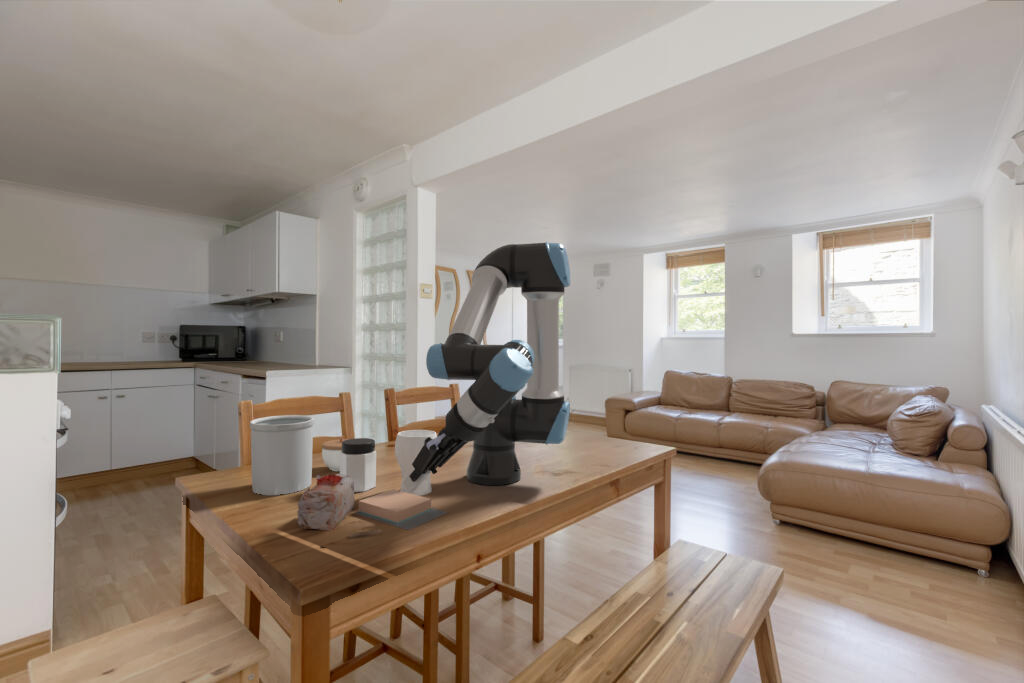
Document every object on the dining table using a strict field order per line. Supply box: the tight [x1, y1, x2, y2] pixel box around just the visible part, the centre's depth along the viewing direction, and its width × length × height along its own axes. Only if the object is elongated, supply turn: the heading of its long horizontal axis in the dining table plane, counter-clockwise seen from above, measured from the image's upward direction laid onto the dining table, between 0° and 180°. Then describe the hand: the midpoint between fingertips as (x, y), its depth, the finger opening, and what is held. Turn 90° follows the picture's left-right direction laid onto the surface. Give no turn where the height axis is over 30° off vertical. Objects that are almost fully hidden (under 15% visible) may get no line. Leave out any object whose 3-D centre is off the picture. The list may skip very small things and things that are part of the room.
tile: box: [357, 488, 432, 524], centre depth 103 cm, size 2×10×12 cm
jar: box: [339, 437, 377, 493], centre depth 121 cm, size 9×8×12 cm
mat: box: [354, 507, 449, 531], centre depth 102 cm, size 16×12×1 cm
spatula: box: [319, 528, 383, 550], centre depth 89 cm, size 11×4×1 cm, turn 113°
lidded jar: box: [321, 436, 349, 472], centre depth 139 cm, size 11×11×9 cm
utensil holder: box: [249, 414, 315, 496], centre depth 121 cm, size 15×15×18 cm
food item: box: [297, 473, 355, 531], centre depth 98 cm, size 14×8×10 cm, turn 1°
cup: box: [394, 429, 438, 496], centre depth 117 cm, size 11×11×15 cm
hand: (408, 486), depth 100 cm, fingers closed
